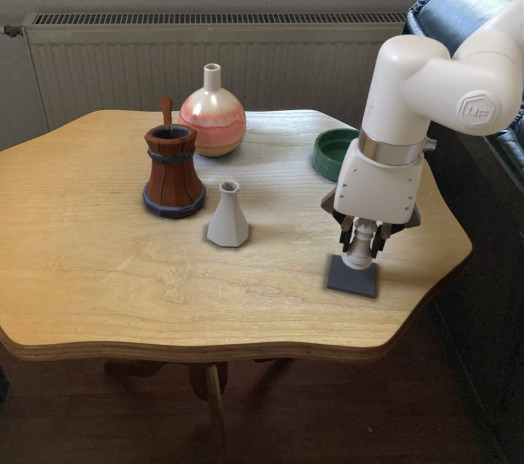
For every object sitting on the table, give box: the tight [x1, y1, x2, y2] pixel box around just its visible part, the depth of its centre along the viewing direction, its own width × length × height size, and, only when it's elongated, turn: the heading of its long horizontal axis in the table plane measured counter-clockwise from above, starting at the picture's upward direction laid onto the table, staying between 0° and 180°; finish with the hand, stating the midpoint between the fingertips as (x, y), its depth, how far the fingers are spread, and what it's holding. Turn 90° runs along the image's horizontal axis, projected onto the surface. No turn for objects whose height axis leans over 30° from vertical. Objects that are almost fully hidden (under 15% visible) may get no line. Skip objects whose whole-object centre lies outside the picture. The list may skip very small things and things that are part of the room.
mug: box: [141, 95, 207, 219], centre depth 90 cm, size 18×12×15 cm, turn 8°
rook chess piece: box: [341, 217, 379, 270], centre depth 74 cm, size 4×4×8 cm
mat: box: [326, 254, 378, 299], centre depth 79 cm, size 7×7×1 cm
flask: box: [206, 179, 250, 248], centre depth 83 cm, size 7×7×10 cm
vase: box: [177, 63, 248, 158], centre depth 100 cm, size 14×14×18 cm
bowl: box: [311, 127, 360, 183], centre depth 100 cm, size 13×13×4 cm
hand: (359, 248), depth 75 cm, fingers closed on rook chess piece, 3 cm apart
